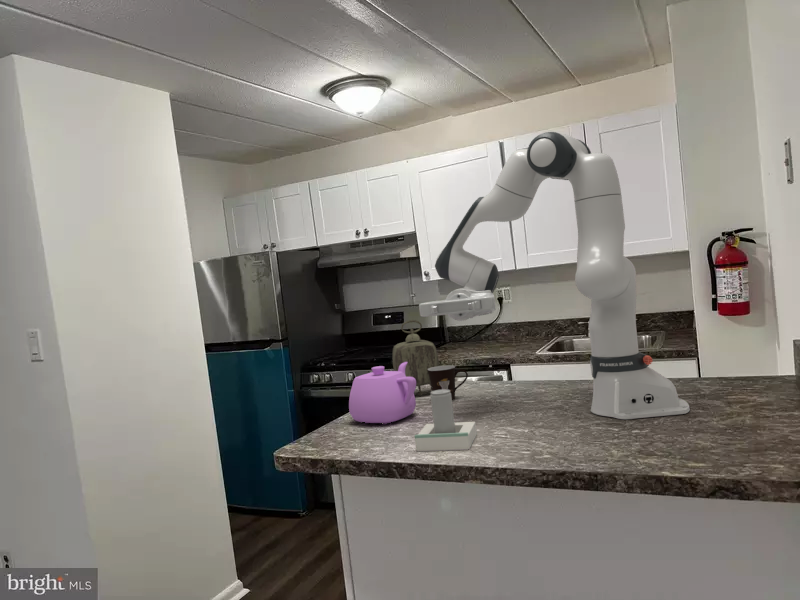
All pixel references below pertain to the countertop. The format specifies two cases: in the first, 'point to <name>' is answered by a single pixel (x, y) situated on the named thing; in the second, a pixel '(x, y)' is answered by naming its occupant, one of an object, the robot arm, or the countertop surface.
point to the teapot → (382, 396)
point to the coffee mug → (444, 378)
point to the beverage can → (442, 411)
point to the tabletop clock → (415, 357)
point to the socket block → (446, 438)
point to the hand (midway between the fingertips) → (452, 308)
